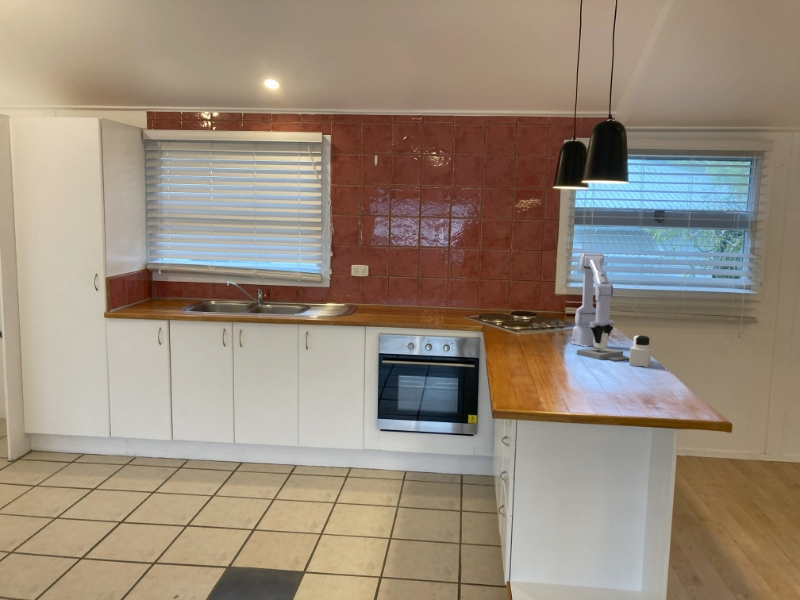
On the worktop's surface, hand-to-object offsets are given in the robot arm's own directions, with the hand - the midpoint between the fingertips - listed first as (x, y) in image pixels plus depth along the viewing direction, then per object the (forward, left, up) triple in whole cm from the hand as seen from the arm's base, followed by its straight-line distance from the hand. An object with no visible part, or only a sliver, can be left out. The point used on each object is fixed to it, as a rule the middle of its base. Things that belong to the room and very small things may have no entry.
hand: (601, 342), depth 262 cm
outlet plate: (-1, +1, -6) cm, 6 cm away
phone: (+9, 0, -6) cm, 11 cm away
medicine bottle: (+20, -1, -6) cm, 21 cm away
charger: (0, 0, -2) cm, 2 cm away
